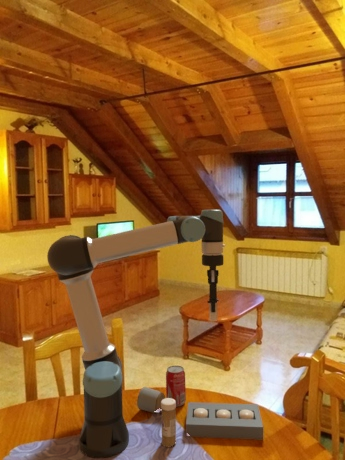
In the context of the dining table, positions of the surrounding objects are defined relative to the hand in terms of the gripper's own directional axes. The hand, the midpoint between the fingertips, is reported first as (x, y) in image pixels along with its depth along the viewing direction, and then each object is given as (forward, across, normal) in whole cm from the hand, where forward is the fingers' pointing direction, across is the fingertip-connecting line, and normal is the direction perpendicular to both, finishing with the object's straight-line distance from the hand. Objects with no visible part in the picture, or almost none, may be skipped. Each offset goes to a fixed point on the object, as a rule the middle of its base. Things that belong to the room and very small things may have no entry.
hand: (213, 320), depth 138 cm
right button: (+31, -10, -11) cm, 34 cm away
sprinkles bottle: (+33, -21, +14) cm, 41 cm away
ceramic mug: (+33, 0, +22) cm, 39 cm away
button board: (+32, -10, -3) cm, 34 cm away
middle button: (+31, -10, -3) cm, 33 cm away
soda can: (+33, +4, +14) cm, 36 cm away
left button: (+31, -10, +4) cm, 33 cm away
